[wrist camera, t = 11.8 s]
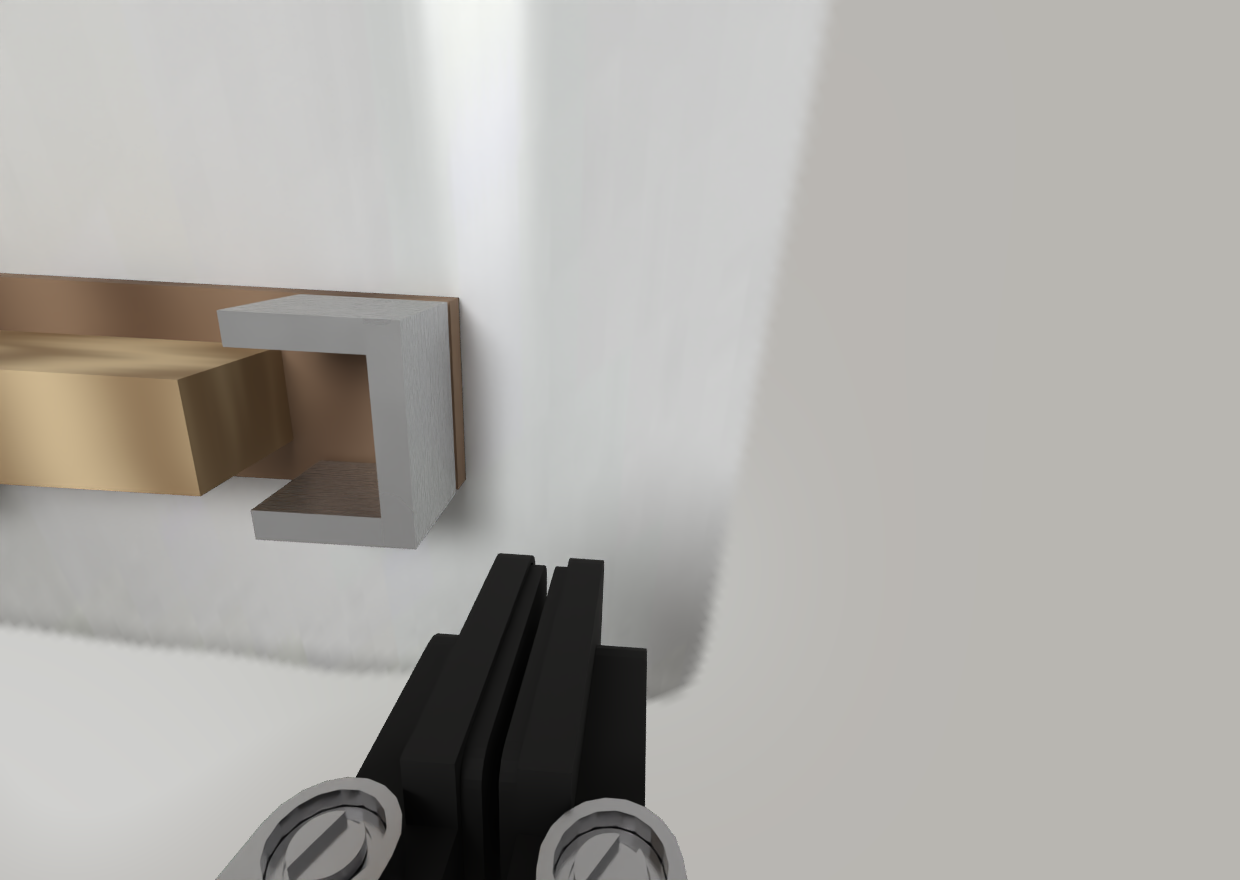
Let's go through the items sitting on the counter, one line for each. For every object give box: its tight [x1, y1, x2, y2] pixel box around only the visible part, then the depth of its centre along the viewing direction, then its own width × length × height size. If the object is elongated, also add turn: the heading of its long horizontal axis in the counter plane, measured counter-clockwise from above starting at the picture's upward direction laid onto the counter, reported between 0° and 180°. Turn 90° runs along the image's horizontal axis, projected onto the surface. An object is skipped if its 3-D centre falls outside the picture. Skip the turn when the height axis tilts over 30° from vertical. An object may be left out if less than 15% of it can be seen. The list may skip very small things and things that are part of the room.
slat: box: [0, 330, 294, 496], centre depth 20 cm, size 14×4×5 cm, turn 87°
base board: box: [0, 273, 466, 490], centre depth 22 cm, size 24×7×1 cm, turn 87°
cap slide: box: [217, 294, 456, 549], centre depth 19 cm, size 5×7×4 cm
